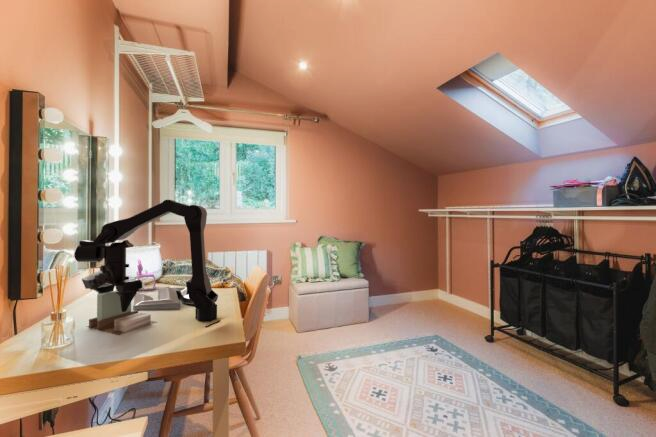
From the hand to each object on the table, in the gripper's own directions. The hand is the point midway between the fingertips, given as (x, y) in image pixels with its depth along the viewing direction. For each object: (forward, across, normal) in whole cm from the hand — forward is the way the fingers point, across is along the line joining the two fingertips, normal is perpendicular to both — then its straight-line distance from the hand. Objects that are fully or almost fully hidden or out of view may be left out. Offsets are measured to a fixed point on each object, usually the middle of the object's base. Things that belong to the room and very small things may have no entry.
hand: (114, 309), depth 96 cm
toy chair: (+6, -40, +38) cm, 55 cm away
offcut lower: (+4, +9, 0) cm, 10 cm away
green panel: (+4, 0, 0) cm, 4 cm away
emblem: (+6, -7, +25) cm, 27 cm away
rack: (+6, +4, 0) cm, 7 cm away
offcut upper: (+3, +9, 0) cm, 9 cm away
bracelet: (+6, -32, +28) cm, 43 cm away
